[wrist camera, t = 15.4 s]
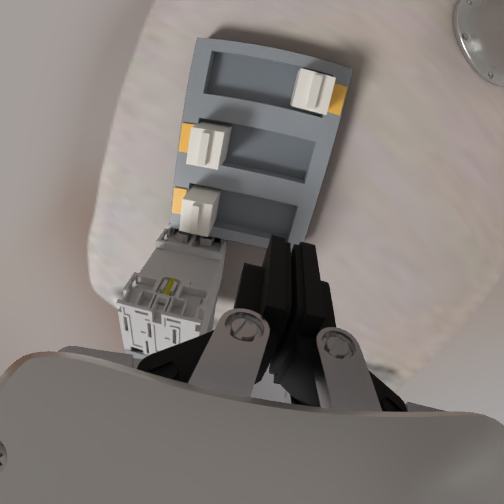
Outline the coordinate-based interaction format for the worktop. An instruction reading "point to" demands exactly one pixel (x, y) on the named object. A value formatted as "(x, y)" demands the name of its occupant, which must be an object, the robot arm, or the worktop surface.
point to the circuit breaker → (172, 293)
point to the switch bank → (258, 139)
